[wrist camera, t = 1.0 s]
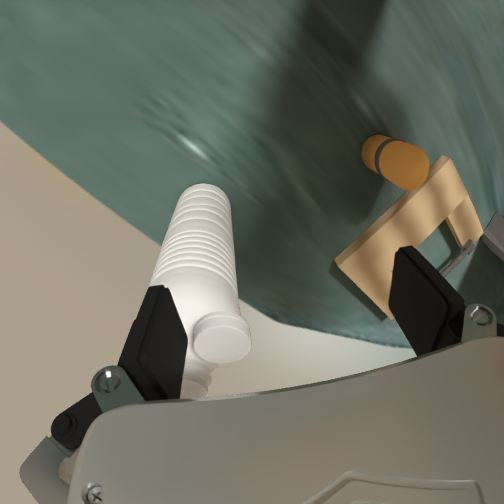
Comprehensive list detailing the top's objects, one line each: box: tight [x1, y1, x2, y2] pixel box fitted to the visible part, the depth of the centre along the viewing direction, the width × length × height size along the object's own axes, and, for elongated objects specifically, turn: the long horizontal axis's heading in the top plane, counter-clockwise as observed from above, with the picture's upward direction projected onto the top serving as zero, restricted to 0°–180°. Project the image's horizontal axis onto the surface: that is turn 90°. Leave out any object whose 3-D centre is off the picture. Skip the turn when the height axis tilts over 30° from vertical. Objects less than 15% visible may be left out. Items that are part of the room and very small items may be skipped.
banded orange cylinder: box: [361, 135, 429, 191], centre depth 29 cm, size 5×5×8 cm
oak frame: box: [334, 155, 484, 320], centre depth 37 cm, size 22×16×3 cm
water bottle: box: [149, 184, 251, 399], centre depth 24 cm, size 9×6×25 cm
